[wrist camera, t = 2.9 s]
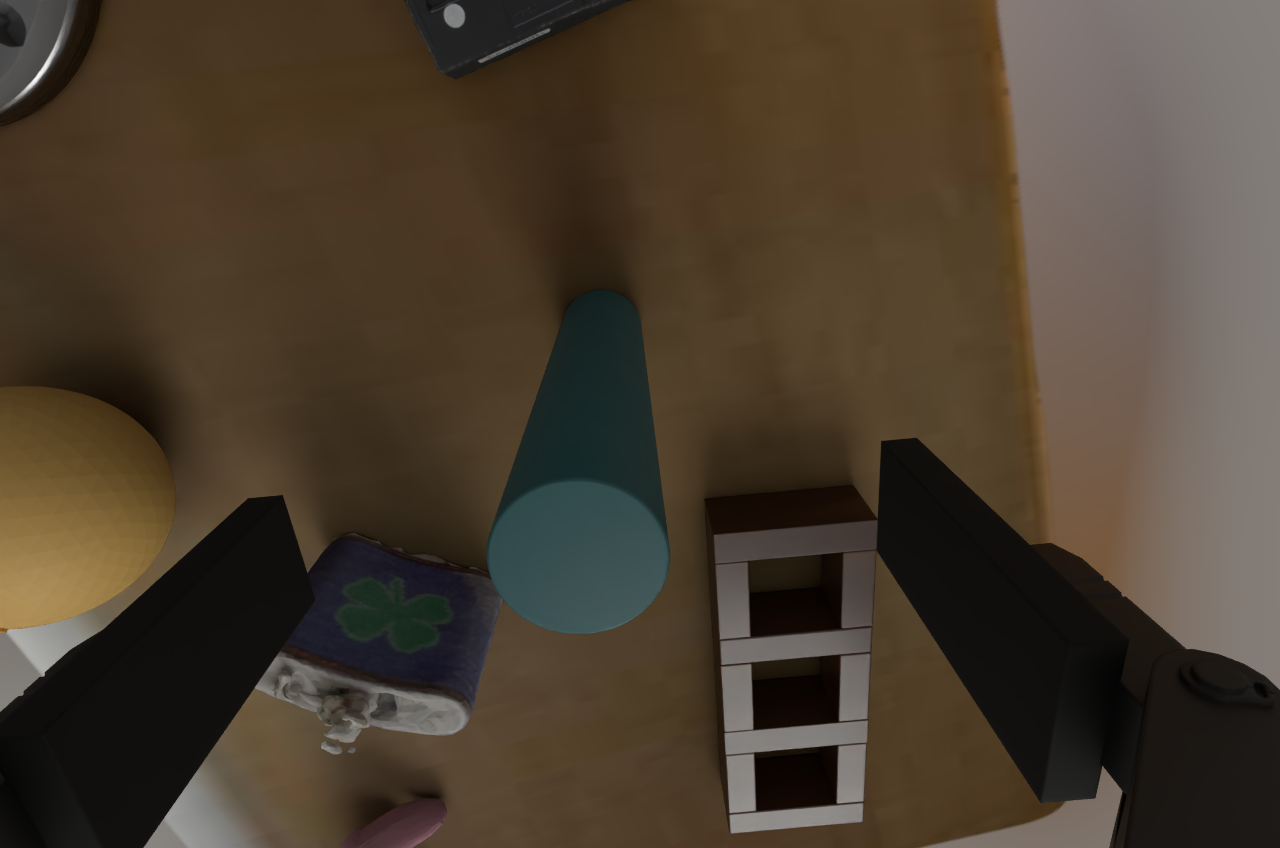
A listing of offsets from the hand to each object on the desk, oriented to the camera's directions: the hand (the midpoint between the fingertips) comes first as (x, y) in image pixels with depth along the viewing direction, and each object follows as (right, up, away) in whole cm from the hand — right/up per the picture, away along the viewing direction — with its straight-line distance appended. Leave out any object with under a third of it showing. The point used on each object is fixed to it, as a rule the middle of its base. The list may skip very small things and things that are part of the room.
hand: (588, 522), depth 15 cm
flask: (-11, -5, +21) cm, 24 cm away
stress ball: (-24, +1, +18) cm, 30 cm away
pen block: (+9, -10, +23) cm, 27 cm away
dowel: (-1, +7, +16) cm, 17 cm away
